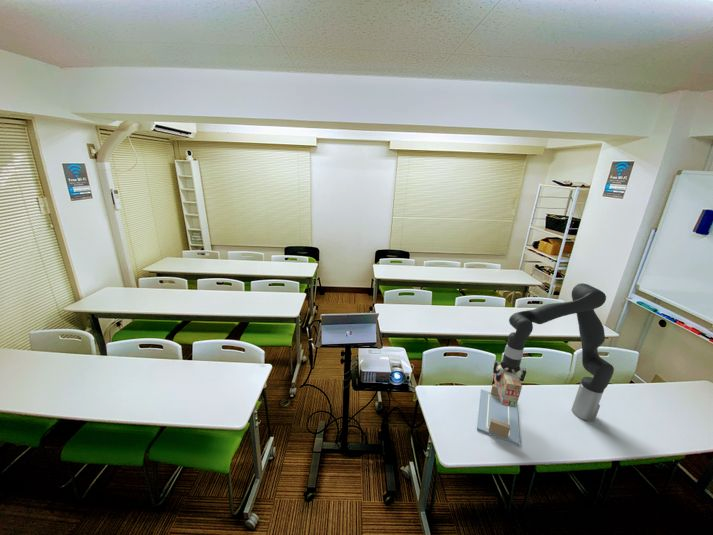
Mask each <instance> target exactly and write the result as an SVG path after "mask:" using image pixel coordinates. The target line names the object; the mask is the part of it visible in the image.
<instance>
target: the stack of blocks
mask: <svg viewBox="0 0 713 535" xmlns="http://www.w3.org/2000/svg"><path fill="white" fill-rule="evenodd" d="M500 368H501V369H502V367H501V365H499V366H497V369H496V370H497V371H498V370H499V369H500ZM502 370H503V369H502ZM517 374H518V372H517V373H516V375H515V374H513V373H511V372H507V371H503V373H502V374H500V377H499V382H497V380H496V373H493V374H492V377H493V380H494V384H495V385H496V387H497V390H498V393H499V396H500V400H501V403H502V405H506V406H511V407H516V406H517V407H518V401H519V398H520V396H521V391H522V388H523V385H522V383H521V382H522V381H520V380H519V378H518V377H519V375H517Z"/></svg>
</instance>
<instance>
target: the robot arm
mask: <svg viewBox="0 0 713 535" xmlns="http://www.w3.org/2000/svg"><path fill="white" fill-rule="evenodd" d="M571 298H572V299H571V301H565V302H554V303H553V302H552V303H548V304H544V305H541V306H538V307H536V308H534V309H528V310H523V311H517V312H515V313H513V314H511V315H510V316H509V320H508V323H509V324H510V326H512V328H514V330H515V332H510V333H509V335H508V337H507V338H508V339H507V340H506V341H507V342H506V345H505V347H504V352H503V354H502V355H503V357H502V360H501V361H498V360H497V359H495V360H494V363H493V368H492V369H493V370H492V373H493V374H494V373H496V380H497V382H499V377H500V374H502V373H503V371H507V372H511V373H513V374H515V375H516V373H517V375H518V372H520V373H521V375H520V376H519V375H518V378H519V380H520V382H524V380H525V378H526V375H527V368H525V367H523V368H522V367H521V363H522V359H523V357H524V356H523V355H524V349H525V346H526V342H527V340H528V339H529V337H530V336H531V334H532V332H533V330H534V329H533V328H534V327H533V326H534V324H537V325H543V324H545V323H548V322H550V321H554V320H556V319H559V318H561V317H565V316H569V315H575V314H576V318H577V324H578V331H579V337H580V342H581V355H582V356H581V359H582V360H581V363H582V367H583V368H584V370H586V372H588V373H589V374H591V375H592V376H593V377H591V376H584V377H582V378H581V381H580V383H579V386H578V389H577V392H576V394H575V396H574V397H575V398H574V401H573V404H572V407H571V412H572V413H573V414H574V416H576V417H577V418H579V419H582V420H584V421H588V422H592V421H593V422H595V421H596V418H597V416H598V414H599V410H600V407H601V404H600V403H601V402H600V401H601V399H602V397H603V393H604V391H605V390H606V388H607V387H608V386H609V384H610V381H611V379H612V378H613V375H614V371H615V367H614V366H613V365H612V364H611V363H609V362H608V361H607V360H605V359H603V358H602V357H600V355H599V351H598V348H600V347H601V346H603V344H604V343H605V341H606V334H605V328H604V324H603V322H602V321H601V320H600V318H599V316H598V314H597V313H596V311H595V309H598V308H601V307H602V306H603V305H604V304H605V302H606V300H607V295H606V294H605V293H604V291H602V290H600V289H598V288H596V287H594V286H592V285H590V284H587V283H584V282H583V283H578V284H576V285H575V286H574V287H573V288H572V290H571ZM499 365H501V367H502V369H503V370H502V369H501V368H500V369H499V370H498V371H497V370H496V369H497V366H499Z"/></svg>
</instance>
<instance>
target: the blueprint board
mask: <svg viewBox="0 0 713 535" xmlns="http://www.w3.org/2000/svg"><path fill="white" fill-rule="evenodd" d="M479 397H480V398H479V403H478V404H479V405H478V413H477V414H478V415H477V423H476V430H477V431H479V432H480V433H484V434H487V435H490V436H492V437H494V438H497V439H500V440H503V441H505V442H508V443H511V444H513V445H516V446H519V447H520V444H521V443H520V430H519V427H520V426H519V415H518V414H519V413H518V411H519V410H518V405H517V406H516V407H511V406H506V405H502V403H501V400H500V396H499V393H498V390H497V387H496V384H495V383H493V384H492V386H491V390H490V391H488V390H484V389H480V396H479Z"/></svg>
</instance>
